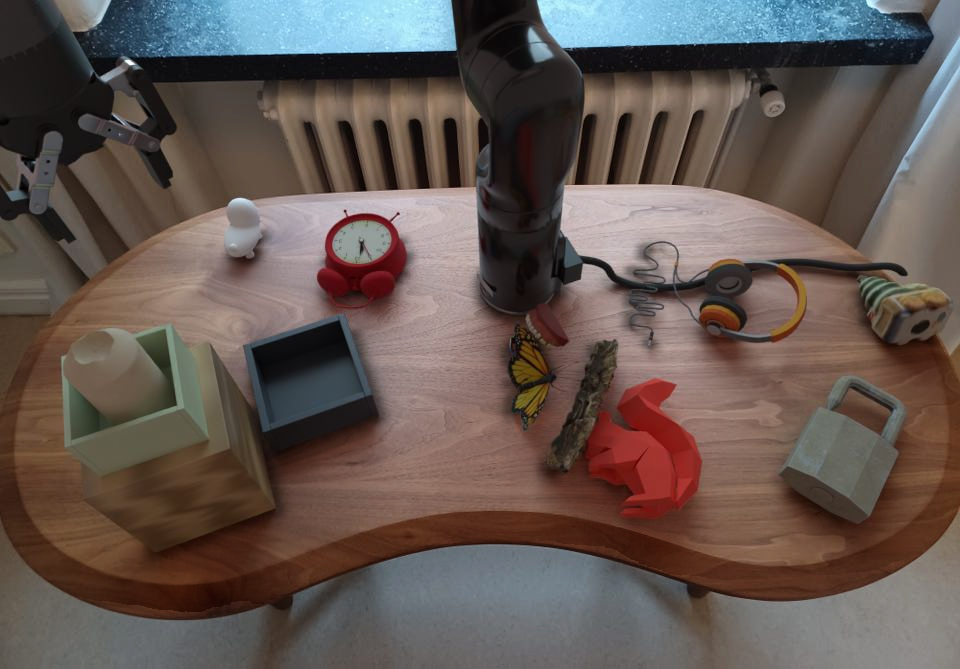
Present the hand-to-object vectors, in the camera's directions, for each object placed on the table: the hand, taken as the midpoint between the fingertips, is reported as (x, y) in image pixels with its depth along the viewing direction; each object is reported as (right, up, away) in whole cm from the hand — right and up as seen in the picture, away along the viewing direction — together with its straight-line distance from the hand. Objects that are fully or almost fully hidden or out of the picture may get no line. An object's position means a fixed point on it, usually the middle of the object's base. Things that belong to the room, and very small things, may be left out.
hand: (117, 209), depth 56 cm
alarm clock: (+15, -2, +31) cm, 34 cm away
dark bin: (+11, -17, +20) cm, 29 cm away
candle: (+1, -17, +3) cm, 17 cm away
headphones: (+58, -7, +26) cm, 63 cm away
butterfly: (+38, -16, +18) cm, 45 cm away
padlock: (+63, -26, +10) cm, 69 cm away
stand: (+2, -25, +15) cm, 29 cm away
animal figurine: (+47, -23, +15) cm, 54 cm away
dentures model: (+38, -8, +17) cm, 42 cm away
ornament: (+80, -10, +19) cm, 82 cm away
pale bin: (+1, -17, +3) cm, 18 cm away
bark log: (+42, -19, +18) cm, 49 cm away
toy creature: (-1, +1, +34) cm, 34 cm away
